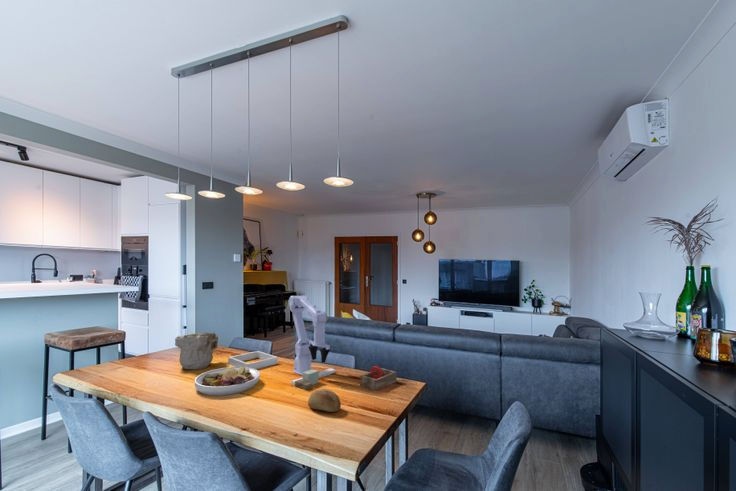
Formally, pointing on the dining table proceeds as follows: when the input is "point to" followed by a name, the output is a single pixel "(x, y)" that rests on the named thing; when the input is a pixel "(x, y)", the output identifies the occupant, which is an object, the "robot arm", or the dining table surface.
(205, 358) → the ceramic vessel
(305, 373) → the cabinet block
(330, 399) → the bread roll
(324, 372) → the white flat plank
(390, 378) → the wooden box
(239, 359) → the frame
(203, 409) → the dining table surface
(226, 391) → the bowl
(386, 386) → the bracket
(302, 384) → the cleat
